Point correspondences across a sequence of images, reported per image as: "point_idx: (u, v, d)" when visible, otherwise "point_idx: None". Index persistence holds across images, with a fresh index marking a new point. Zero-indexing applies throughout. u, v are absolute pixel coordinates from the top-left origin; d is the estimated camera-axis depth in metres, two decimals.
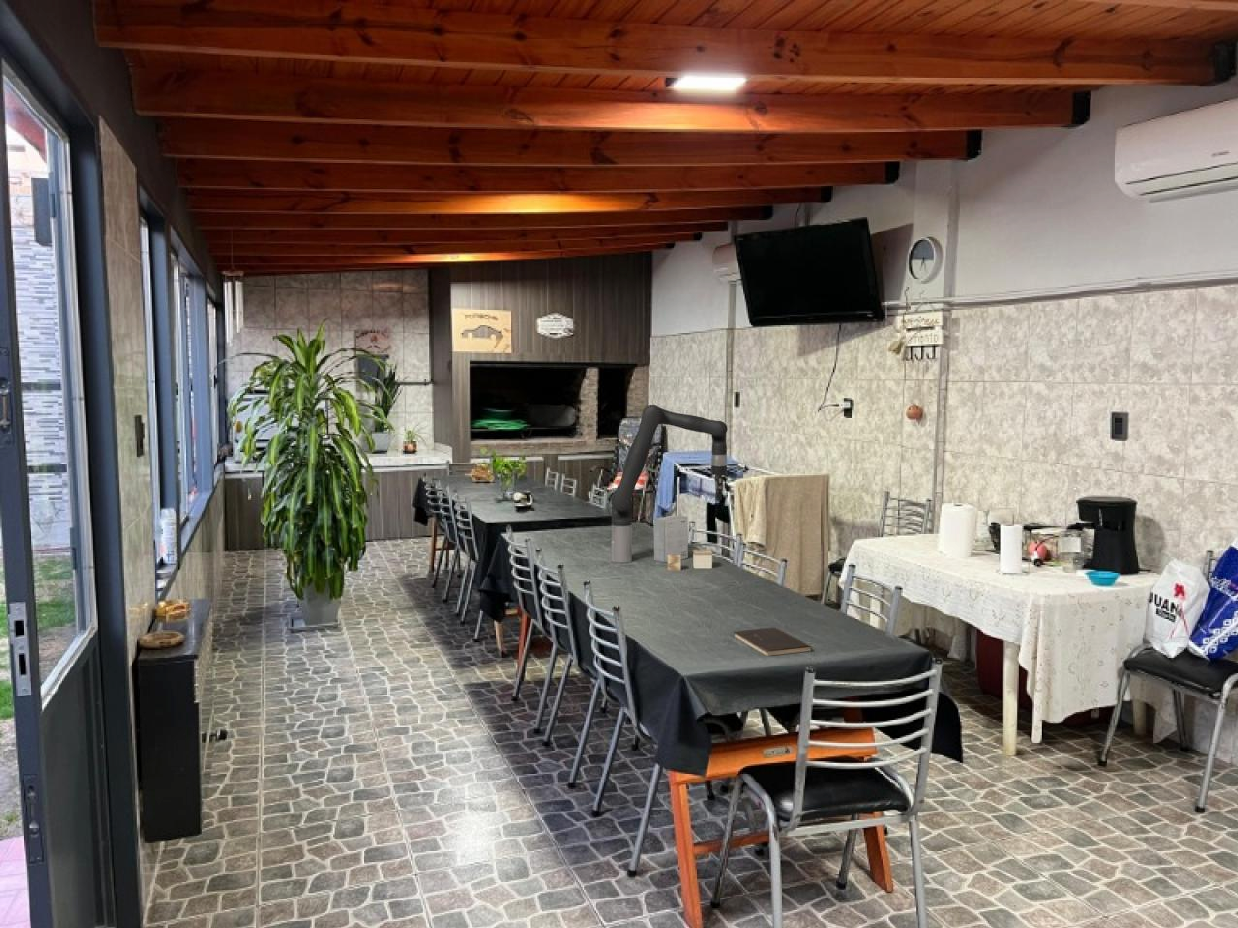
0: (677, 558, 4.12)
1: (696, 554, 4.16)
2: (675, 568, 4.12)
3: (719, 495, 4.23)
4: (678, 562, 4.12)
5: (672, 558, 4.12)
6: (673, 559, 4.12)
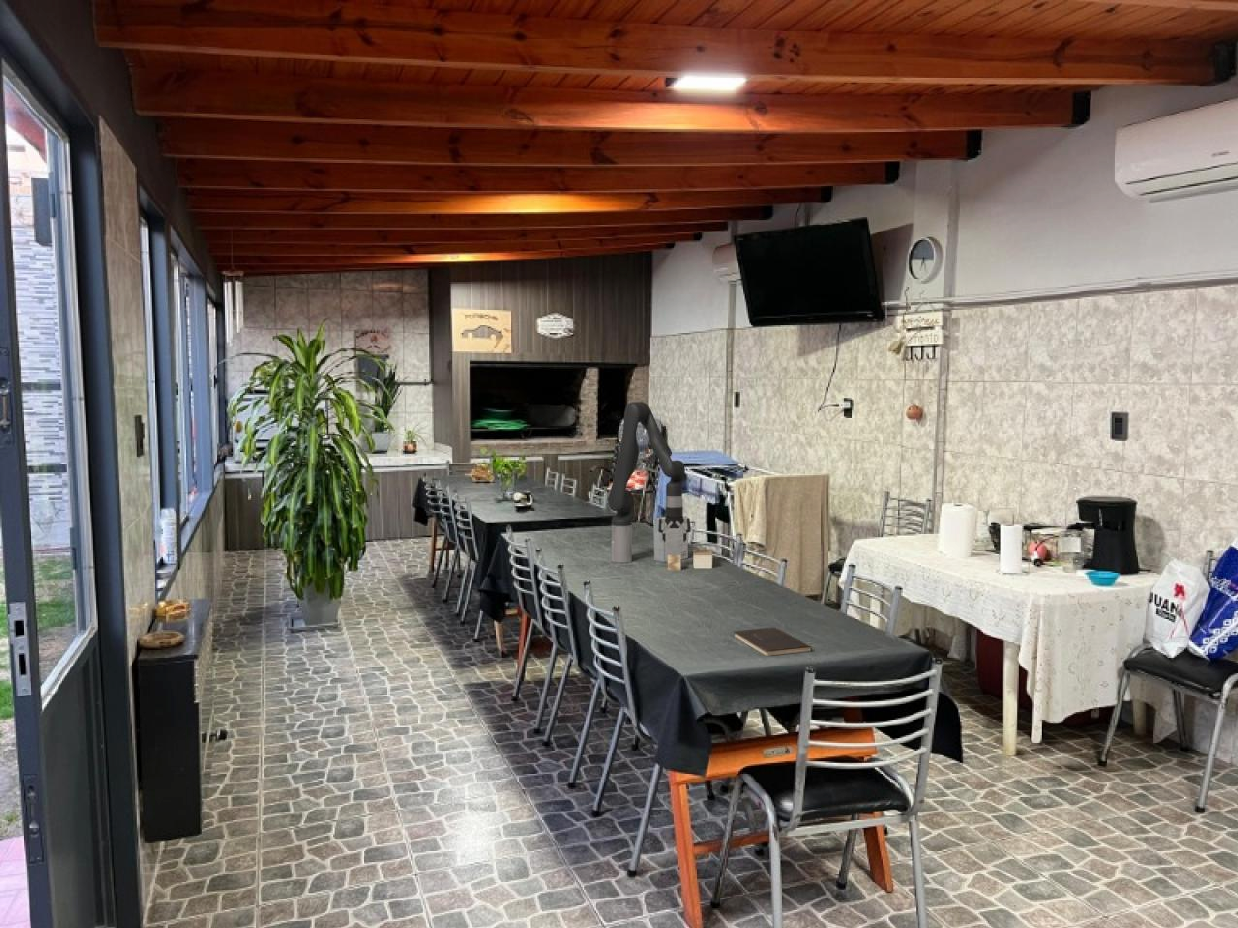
0: (677, 558, 4.12)
1: (696, 554, 4.16)
2: (675, 568, 4.12)
3: None
4: (678, 562, 4.12)
5: (672, 558, 4.12)
6: (673, 559, 4.12)
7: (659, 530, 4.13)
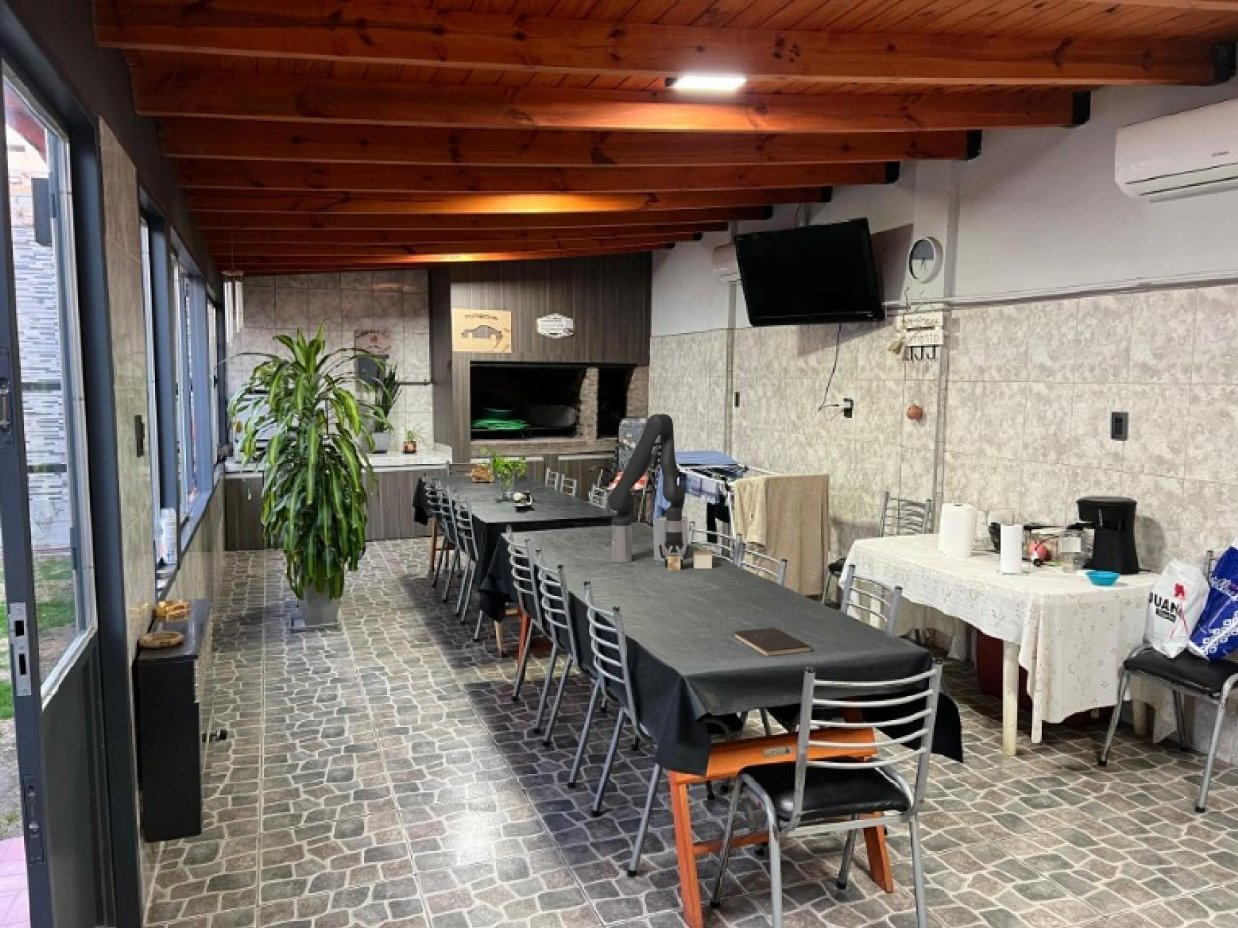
0: (676, 558, 4.12)
1: (696, 554, 4.16)
2: (675, 568, 4.12)
3: None
4: (678, 562, 4.12)
5: (672, 558, 4.12)
6: (673, 559, 4.12)
7: (662, 556, 4.14)
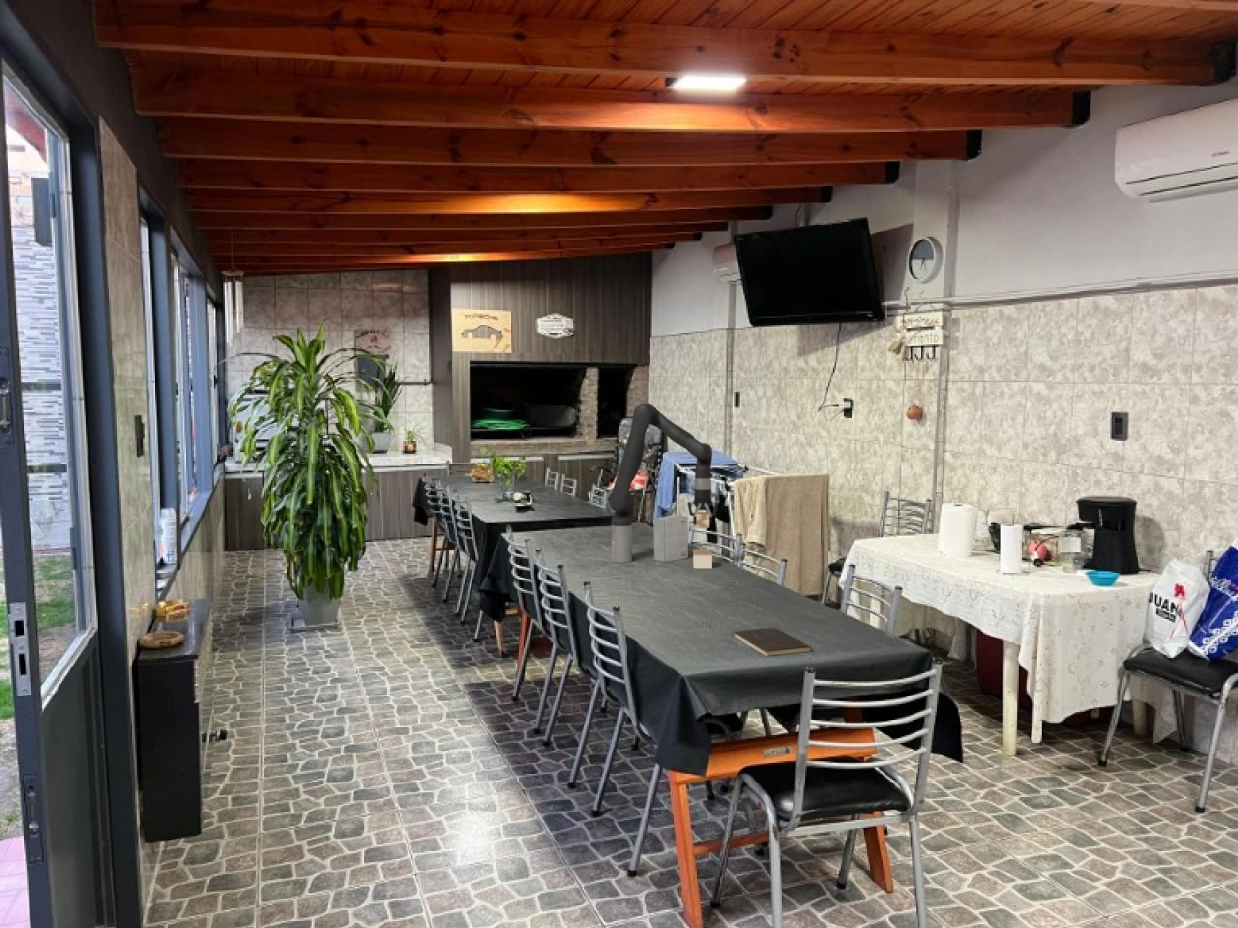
0: (705, 515, 4.16)
1: (696, 554, 4.16)
2: (704, 525, 4.16)
3: (711, 519, 4.18)
4: (707, 519, 4.16)
5: (701, 515, 4.16)
6: (702, 516, 4.16)
7: (690, 513, 4.17)
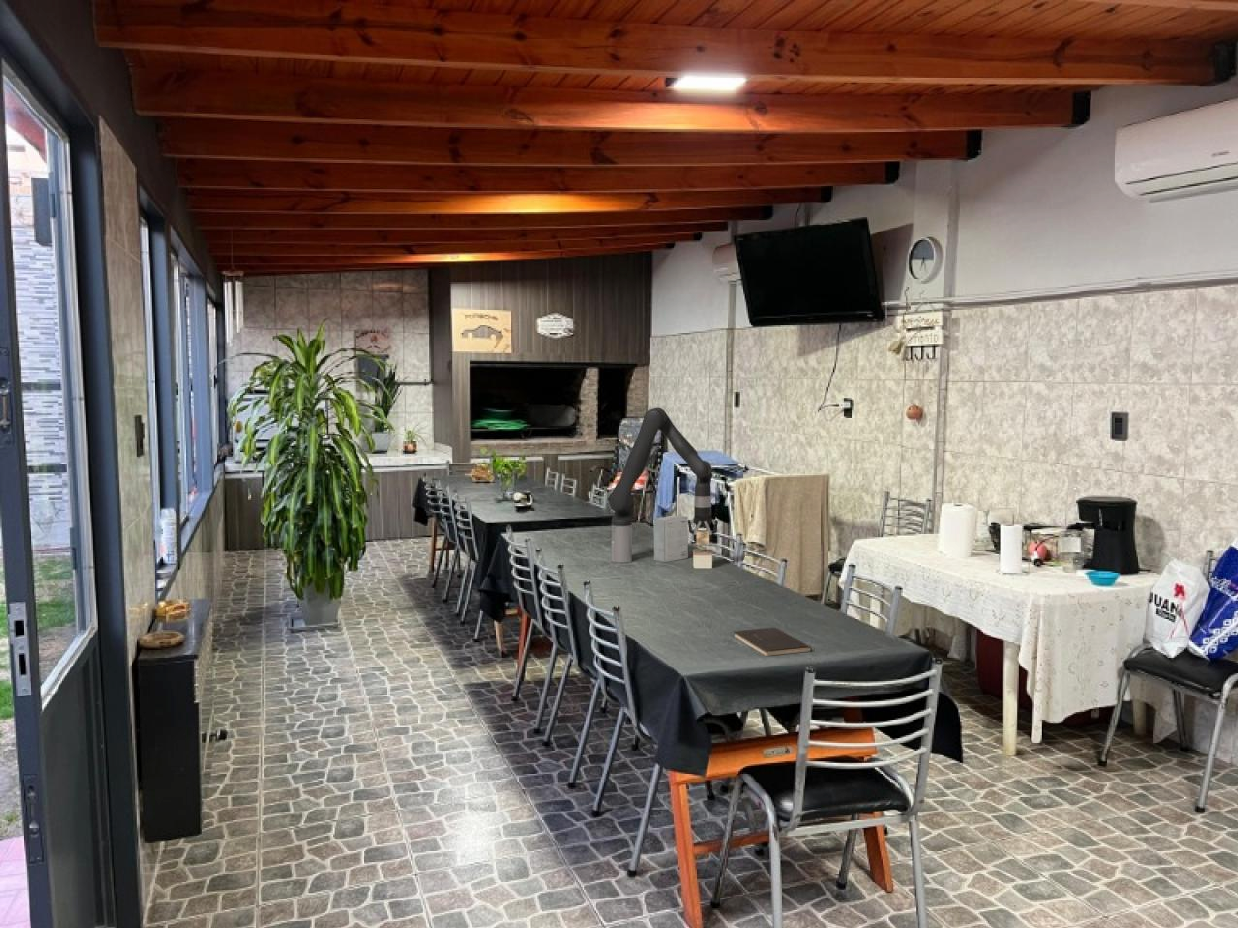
0: (705, 533, 4.16)
1: (696, 554, 4.16)
2: (704, 543, 4.17)
3: (711, 537, 4.19)
4: (707, 537, 4.17)
5: (701, 533, 4.16)
6: (702, 534, 4.17)
7: (690, 531, 4.18)
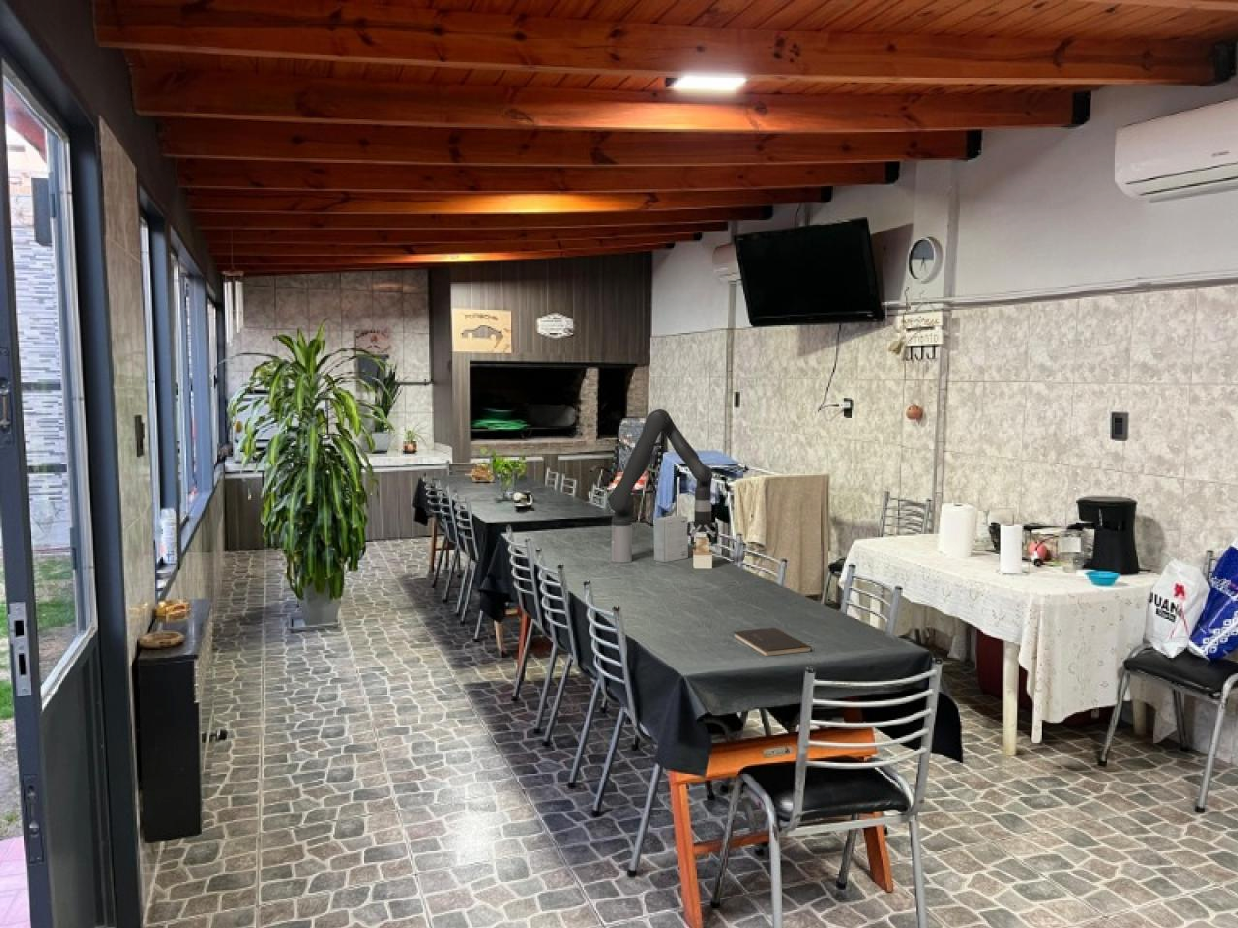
0: (705, 540, 4.17)
1: (696, 554, 4.16)
2: (703, 550, 4.17)
3: None
4: (706, 544, 4.17)
5: (700, 540, 4.17)
6: (701, 541, 4.17)
7: (688, 533, 4.18)
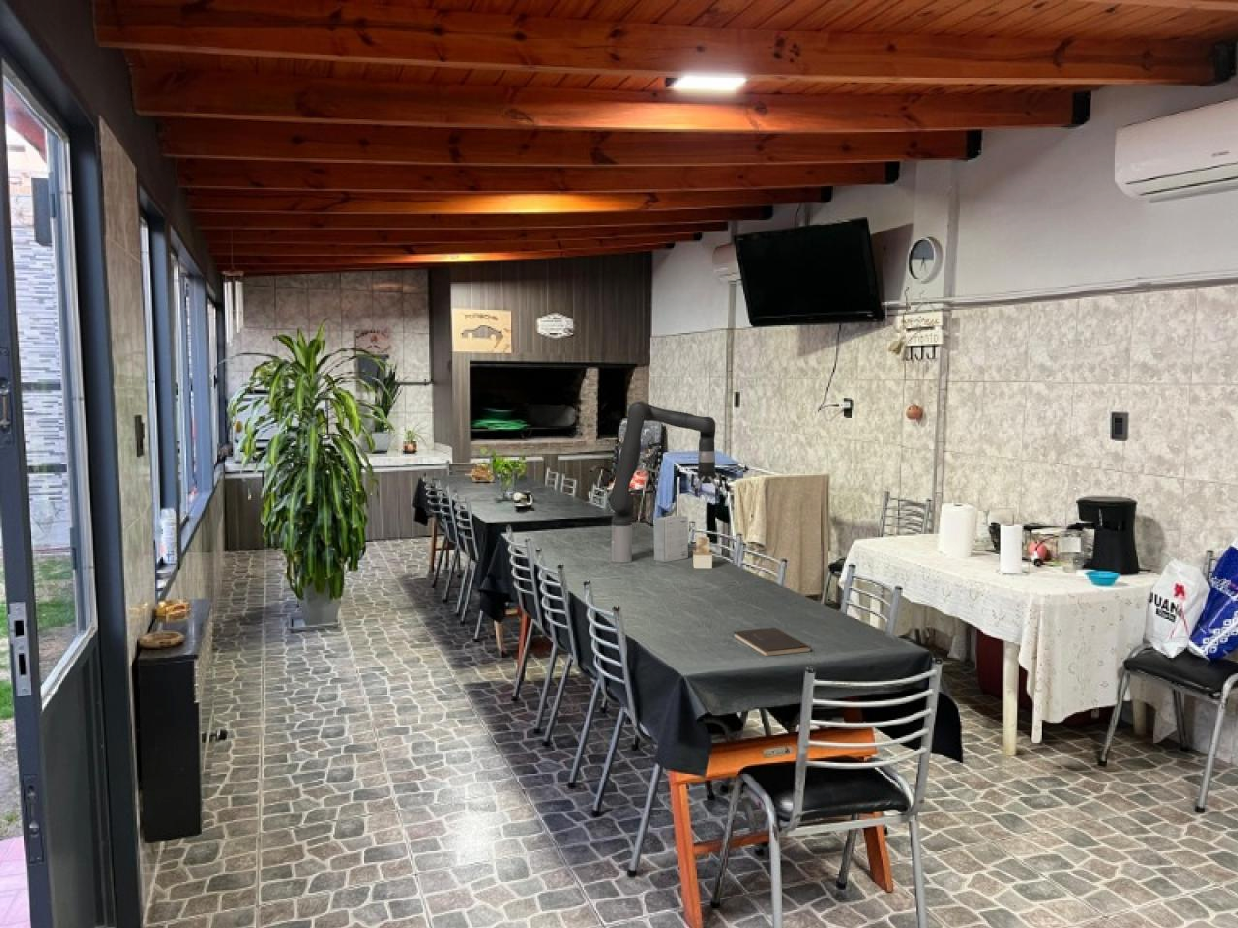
0: (705, 540, 4.17)
1: (696, 554, 4.16)
2: (704, 550, 4.17)
3: None
4: (707, 544, 4.17)
5: (701, 540, 4.17)
6: (702, 541, 4.17)
7: (691, 485, 4.19)
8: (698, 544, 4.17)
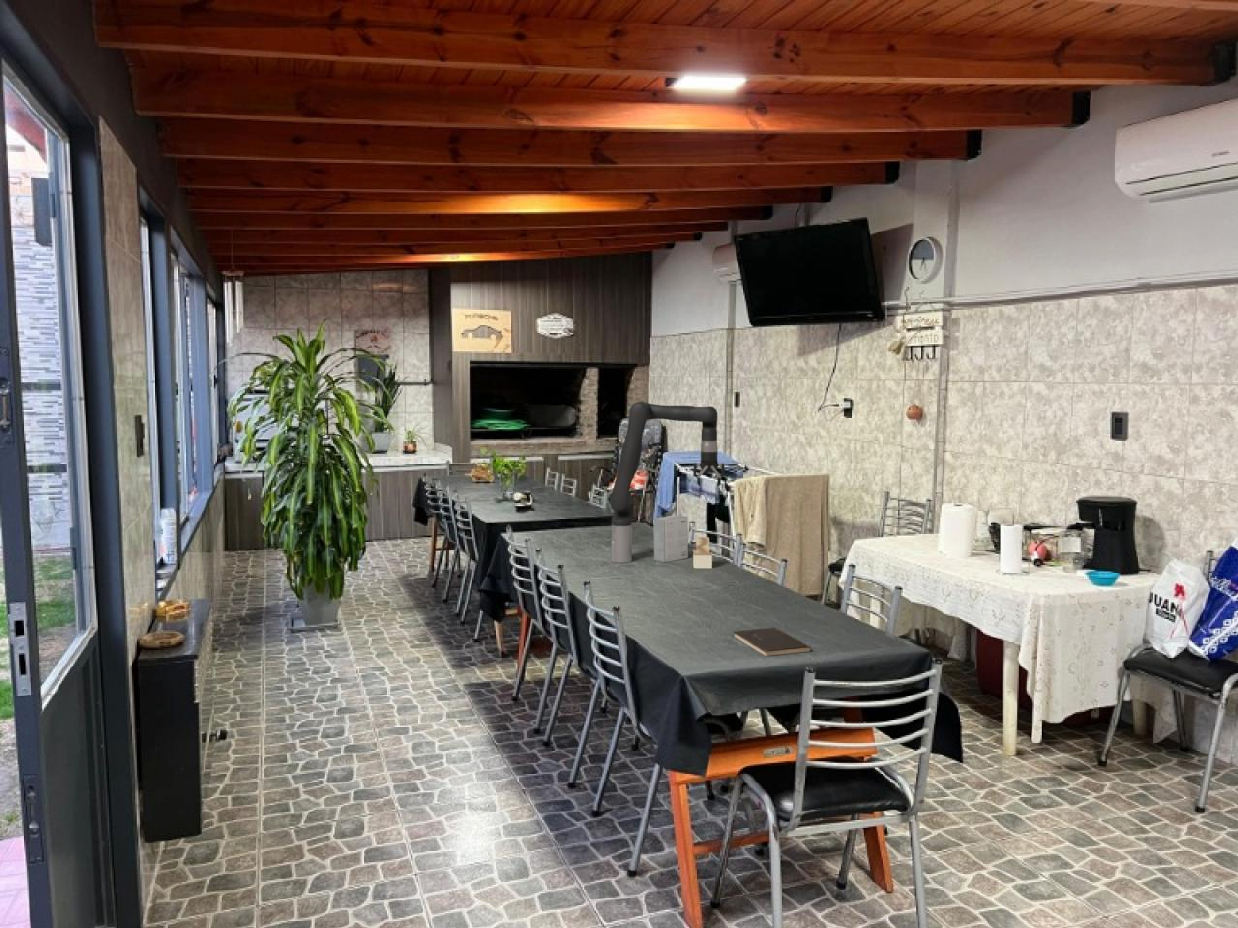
0: (705, 540, 4.17)
1: (696, 554, 4.16)
2: (704, 550, 4.17)
3: (720, 480, 4.22)
4: (707, 544, 4.17)
5: (701, 540, 4.17)
6: (702, 541, 4.17)
7: (694, 474, 4.21)
8: (698, 544, 4.17)
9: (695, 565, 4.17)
